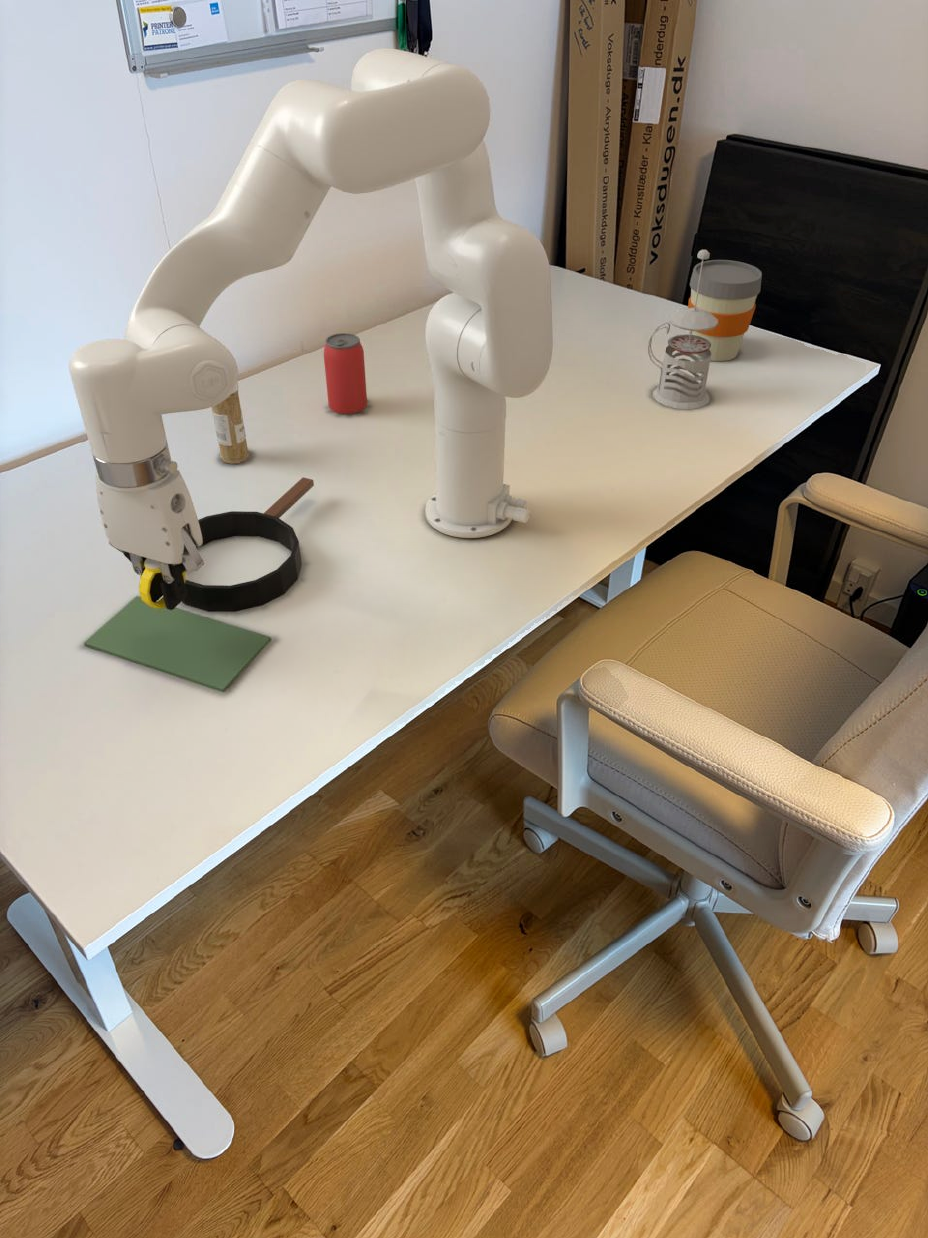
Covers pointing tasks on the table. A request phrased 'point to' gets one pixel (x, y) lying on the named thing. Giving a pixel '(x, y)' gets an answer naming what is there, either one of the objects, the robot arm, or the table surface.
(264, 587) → the pan
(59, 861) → the table surface
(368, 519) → the table surface
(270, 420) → the table surface
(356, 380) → the beer can
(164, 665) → the mat
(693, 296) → the reusable coffee cup
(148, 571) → the watch
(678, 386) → the french press
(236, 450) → the sprinkles bottle
